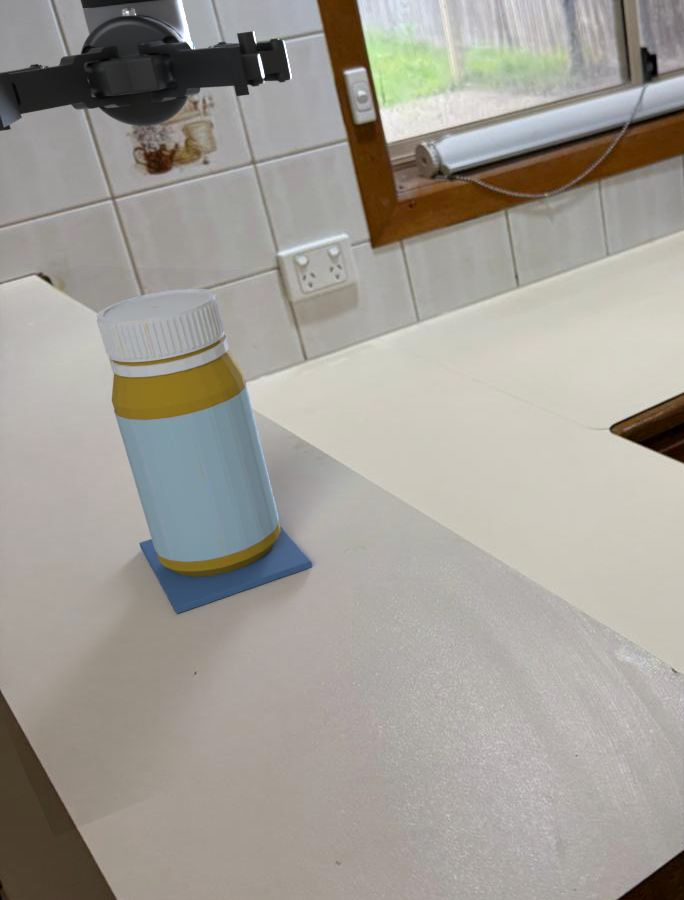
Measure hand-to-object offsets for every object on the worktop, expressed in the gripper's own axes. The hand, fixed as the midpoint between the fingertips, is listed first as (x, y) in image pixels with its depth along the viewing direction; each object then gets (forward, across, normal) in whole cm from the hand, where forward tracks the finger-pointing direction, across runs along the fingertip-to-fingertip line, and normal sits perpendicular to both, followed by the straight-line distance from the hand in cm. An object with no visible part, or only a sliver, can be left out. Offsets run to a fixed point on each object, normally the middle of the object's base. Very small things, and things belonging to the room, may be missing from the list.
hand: (116, 87), depth 65 cm
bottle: (+10, 0, +26) cm, 28 cm away
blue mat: (+10, 0, +26) cm, 28 cm away
